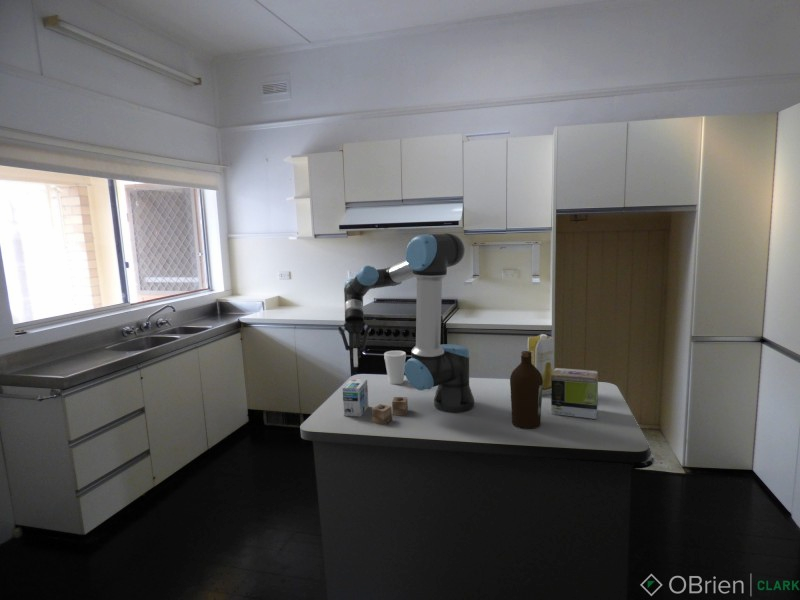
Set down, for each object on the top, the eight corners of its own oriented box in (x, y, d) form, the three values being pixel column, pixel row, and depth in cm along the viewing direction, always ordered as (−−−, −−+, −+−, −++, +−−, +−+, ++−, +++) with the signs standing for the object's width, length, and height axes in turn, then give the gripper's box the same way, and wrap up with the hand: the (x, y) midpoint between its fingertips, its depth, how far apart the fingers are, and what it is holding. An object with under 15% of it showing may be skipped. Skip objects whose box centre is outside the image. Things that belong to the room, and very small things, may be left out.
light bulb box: (361, 417, 174) (359, 388, 173) (343, 416, 176) (341, 387, 174) (369, 406, 184) (367, 379, 183) (352, 405, 186) (350, 378, 184)
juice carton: (539, 398, 187) (539, 337, 183) (524, 392, 193) (524, 334, 190) (556, 393, 191) (556, 334, 188) (541, 387, 198) (541, 330, 194)
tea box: (597, 409, 173) (598, 370, 171) (596, 420, 164) (597, 378, 162) (554, 404, 179) (554, 366, 177) (550, 414, 170) (550, 374, 168)
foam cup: (387, 378, 217) (386, 350, 215) (407, 378, 216) (406, 350, 214) (383, 385, 208) (382, 356, 206) (405, 385, 207) (404, 356, 205)
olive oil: (510, 429, 159) (509, 355, 156) (510, 416, 170) (510, 347, 166) (543, 431, 157) (544, 356, 153) (541, 418, 167) (542, 348, 164)
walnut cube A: (407, 409, 180) (407, 396, 179) (406, 415, 175) (405, 401, 174) (394, 409, 180) (393, 396, 179) (392, 414, 175) (392, 401, 175)
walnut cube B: (391, 419, 171) (391, 405, 170) (384, 424, 167) (383, 410, 166) (380, 417, 174) (379, 403, 173) (372, 422, 169) (371, 408, 169)
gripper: (370, 317, 197) (373, 369, 183) (338, 319, 196) (338, 371, 182) (370, 307, 191) (373, 359, 177) (337, 308, 190) (337, 361, 176)
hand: (355, 365), depth 179 cm, fingers closed
